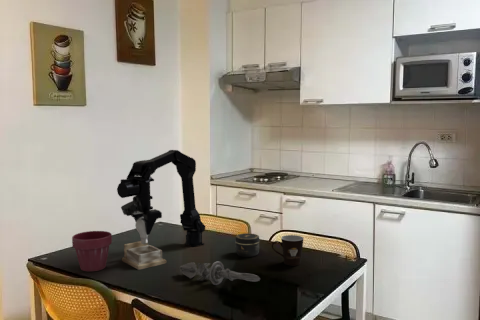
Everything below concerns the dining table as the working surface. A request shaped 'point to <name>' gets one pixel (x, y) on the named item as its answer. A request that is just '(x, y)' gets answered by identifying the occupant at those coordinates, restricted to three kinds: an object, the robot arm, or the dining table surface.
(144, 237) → the lightbulb
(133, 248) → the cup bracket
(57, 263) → the dining table surface
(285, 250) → the coffee mug
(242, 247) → the jar
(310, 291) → the dining table surface
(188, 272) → the spaceship
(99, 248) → the plant pot
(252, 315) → the dining table surface
